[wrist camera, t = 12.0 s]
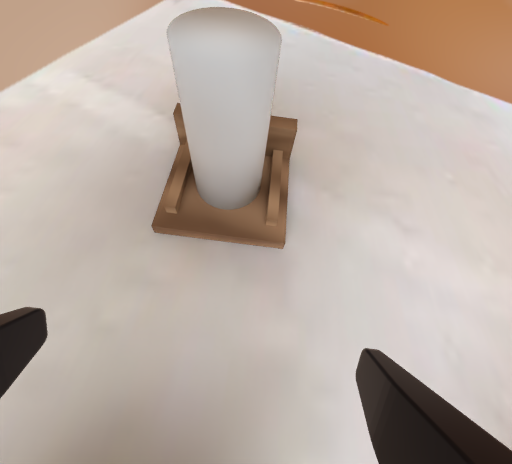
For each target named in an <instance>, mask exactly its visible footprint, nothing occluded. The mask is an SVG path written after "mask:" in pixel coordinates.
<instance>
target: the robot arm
mask: <svg viewBox="0 0 512 464" xmlns="http://www.w3.org/2000/svg"><path fill="white" fill-rule="evenodd" d="M46 338H47V324H46V315H45V312H44V310H43V309H41V308H33V307H24V308H21V309H17V310H14V311H10V312H7V313H4V314H0V398H1V397H2V396H3V395H4V393H5V392H6V391H7V390H8V388H9V387H10V386H11V385H12V383H13V382H14V381H15V380H16V378H17V377H18V376H19V374H20V373H21V372H22V371H23V369H24V368H25V367H26V366H27V364H28V363H29V362H30V360H31V359H32V358H33V357H34V355H35V354H36V353H37V352H38V350H39V349H40V348H41V346H42V345H43V344H44V342H45V341H46ZM356 382H357V386H358V390H359V394H360V398H361V402H362V406H363V410H364V414H365V418H366V422H367V427H368V431H369V434H370V438H371V442H372V445H373V448H374V451H375V454H376V457H377V460H378V463H379V464H512V451H511V450H510V449H509V448H507V447H506V446H505V445H503V444H502V443H501V442H500V441H498V440H497V439H496V438H494V437H493V436H492V435H490V434H489V433H488V432H486V431H485V430H484V429H482V428H481V427H480V426H478V425H477V424H476V423H474V422H473V421H472V420H471V419H469V418H468V417H467V416H465V415H464V414H463V413H461V412H460V411H459V410H457V409H456V408H455V407H453V406H452V405H451V404H449V403H448V402H447V401H446V400H444V399H443V398H442V397H440V396H439V395H438V394H436V393H435V392H434V391H432V390H431V389H430V388H428V387H427V386H426V385H424V384H423V383H422V382H421V381H419V380H418V379H417V378H415V377H414V376H413V375H411V374H410V373H409V372H407V371H406V370H405V369H403V368H402V367H401V366H399V365H398V364H397V363H396V362H394V361H393V360H392V359H390V358H389V357H388V356H386V355H385V354H384V353H382V352H381V351H380V350H377V349H369V348H365V349H363V350H362V352H361V356H360V359H359V363H358V366H357V369H356Z"/></svg>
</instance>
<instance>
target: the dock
mask: <svg viewBox="0 0 512 464" xmlns="http://www.w3.org/2000/svg"><path fill="white" fill-rule="evenodd" d="M173 114H174V119H175V123H176V128H177V132H178V136H179V141H180V147H179V149H178V152H177V155H176V158H175V161H174V164H173V166H172V169H171V172H170V175H169V178H168V181H167V183H166V186H165V189H164V192H163V195H162V198H161V200H160V203H159V206H158V209H157V212H156V215H155V217H154V220H153V223H152V228H153V230H154V232H155V233H163V234H171V235H179V236H186V237H194V238H202V239H210V240H218V241H226V242H233V243H241V244H249V245H257V246H265V247H273V248H280V249H283V247H284V244H285V234H286V215H287V196H288V177H289V159H290V155H291V151H292V147H293V144H294V140H295V136H296V132H297V119H291V118H283V117H276V116H271V117H270V124H269V130H268V137H267V144H266V151H265V158H264V165H263V172H262V178H261V185H260V191H259V193H258V195H257V197H256V198H255V199H254V200H253V201H252V202H251V203H250V204H248V205H246V206H244V207H242V208H239V209H232V210H225V209H219V208H216V207H213V206H211V205H209V204H208V203H206V202H205V201H204V200H203V199H202V198H201V197H200V195H199V193H198V191H197V187H196V182H195V177H194V171H193V166H192V161H191V156H190V151H189V146H188V141H187V136H186V130H185V125H184V120H183V115H182V110H181V105H180V103H177V105H176V108H175V110H174V113H173Z"/></svg>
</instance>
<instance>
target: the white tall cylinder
mask: <svg viewBox="0 0 512 464" xmlns="http://www.w3.org/2000/svg"><path fill="white" fill-rule="evenodd" d="M167 38H168V43H169V48H170V54H171V59H172V64H173V69H174V74H175V79H176V84H177V89H178V95H179V100H180V105H181V110H182V115H183V120H184V125H185V130H186V136H187V141H188V146H189V151H190V156H191V161H192V166H193V171H194V177H195V182H196V187H197V191H198V193H199V195H200V197H201V198H202V199H203V200H204V201H205V202H206V203H208V204H209V205H211V206H213V207H216V208H219V209H225V210H232V209H239V208H242V207H244V206H246V205H248V204H250V203H251V202H252V201H253V200H254V199H255V198H256V197H257V195H258V193H259V191H260V185H261V178H262V172H263V165H264V158H265V151H266V144H267V137H268V130H269V124H270V117H271V110H272V103H273V96H274V89H275V83H276V76H277V69H278V62H279V55H280V48H281V41H282V38H281V34H280V32H279V30H278V29H277V28H276V27H275V25H273V24H272V23H271V22H270V21H268V20H267V19H265V18H263V17H261V16H259V15H257V14H254V13H251V12H248V11H244V10H240V9H234V8H225V7H210V8H201V9H196V10H192V11H189V12H186V13H184V14H181V15H179V16H178V17H176V18H175V19H174V20H173V21H172V22H171V23H170V24H169V26H168V28H167Z"/></svg>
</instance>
